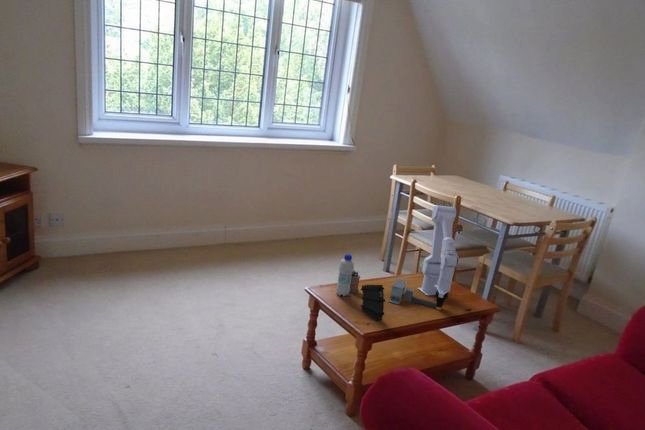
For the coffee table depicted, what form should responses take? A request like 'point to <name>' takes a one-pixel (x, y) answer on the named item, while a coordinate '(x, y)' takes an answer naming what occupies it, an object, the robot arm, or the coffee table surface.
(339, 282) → the bottle
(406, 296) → the plug
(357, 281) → the lighter
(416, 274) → the coffee table surface
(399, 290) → the housing
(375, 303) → the black ribbed block
